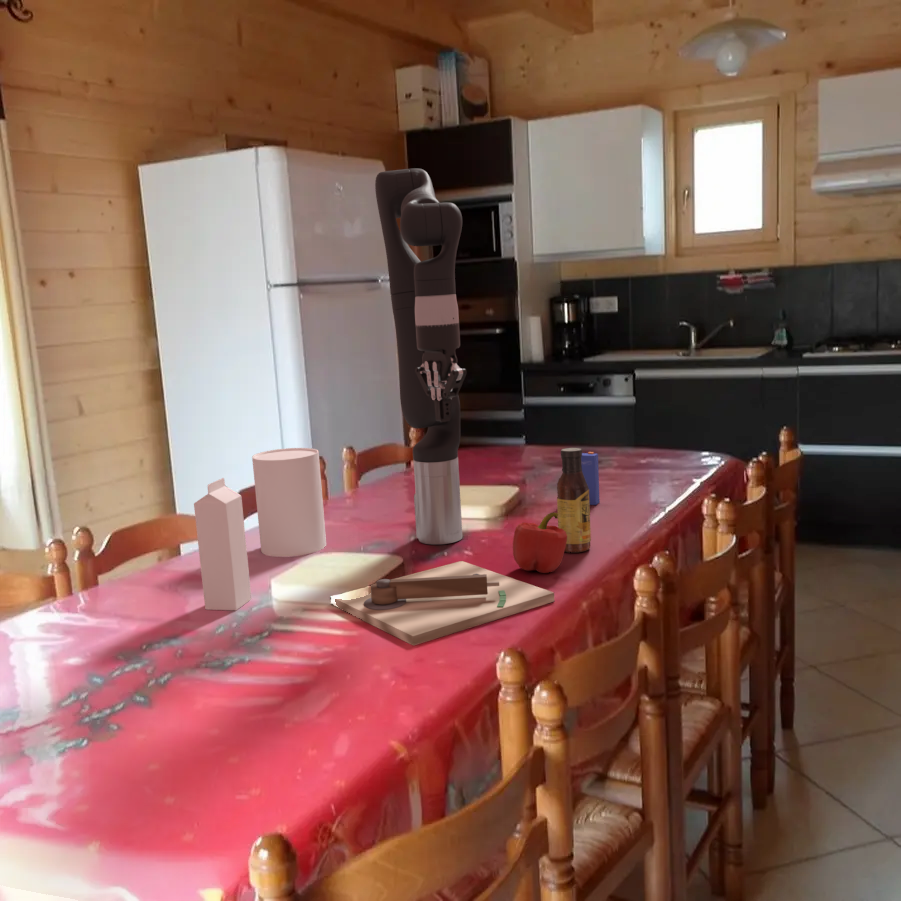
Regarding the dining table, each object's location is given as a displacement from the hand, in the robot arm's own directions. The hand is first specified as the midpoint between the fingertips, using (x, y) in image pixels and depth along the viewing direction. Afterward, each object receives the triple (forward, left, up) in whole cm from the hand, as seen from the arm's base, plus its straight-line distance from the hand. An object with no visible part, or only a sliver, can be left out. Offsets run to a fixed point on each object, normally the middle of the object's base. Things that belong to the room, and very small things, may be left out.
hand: (443, 420), depth 171 cm
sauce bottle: (+2, +28, -29) cm, 41 cm away
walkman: (-25, +55, -29) cm, 67 cm away
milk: (-17, -36, -29) cm, 49 cm away
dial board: (+9, -9, -29) cm, 32 cm away
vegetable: (+7, +15, -29) cm, 34 cm away
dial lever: (+11, -11, -27) cm, 31 cm away
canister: (-42, -11, -29) cm, 52 cm away
